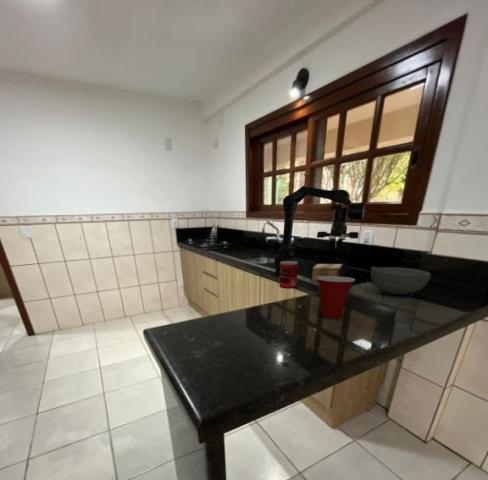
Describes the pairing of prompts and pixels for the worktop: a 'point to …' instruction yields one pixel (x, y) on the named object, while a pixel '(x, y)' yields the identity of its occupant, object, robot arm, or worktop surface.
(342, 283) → the plastic cup
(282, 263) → the canned food
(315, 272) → the chest
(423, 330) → the worktop surface
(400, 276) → the bowl
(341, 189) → the robot arm
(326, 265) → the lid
